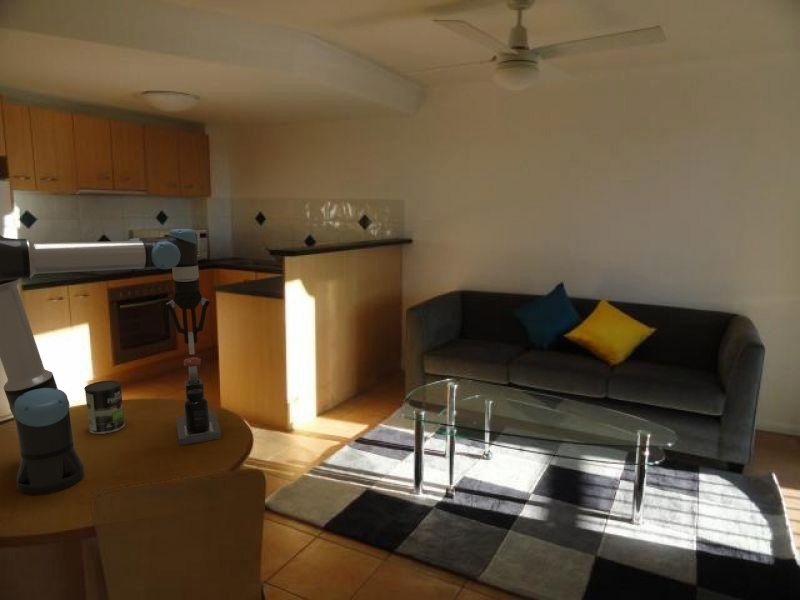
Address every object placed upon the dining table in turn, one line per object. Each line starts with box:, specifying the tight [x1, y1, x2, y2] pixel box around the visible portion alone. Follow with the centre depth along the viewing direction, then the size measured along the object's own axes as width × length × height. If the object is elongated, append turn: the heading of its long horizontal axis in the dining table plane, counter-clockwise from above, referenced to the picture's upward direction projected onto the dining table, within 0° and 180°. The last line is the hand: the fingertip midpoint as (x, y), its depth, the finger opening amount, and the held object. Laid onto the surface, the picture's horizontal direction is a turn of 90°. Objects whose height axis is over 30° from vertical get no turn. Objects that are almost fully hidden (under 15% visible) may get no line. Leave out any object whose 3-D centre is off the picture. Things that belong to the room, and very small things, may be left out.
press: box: [175, 378, 222, 446], centre depth 179 cm, size 18×12×14 cm, turn 23°
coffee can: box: [84, 379, 126, 435], centre depth 182 cm, size 10×10×14 cm
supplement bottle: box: [183, 389, 210, 432], centre depth 175 cm, size 7×7×12 cm
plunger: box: [183, 356, 202, 384], centre depth 183 cm, size 5×5×12 cm
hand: (191, 353), depth 181 cm, fingers closed
